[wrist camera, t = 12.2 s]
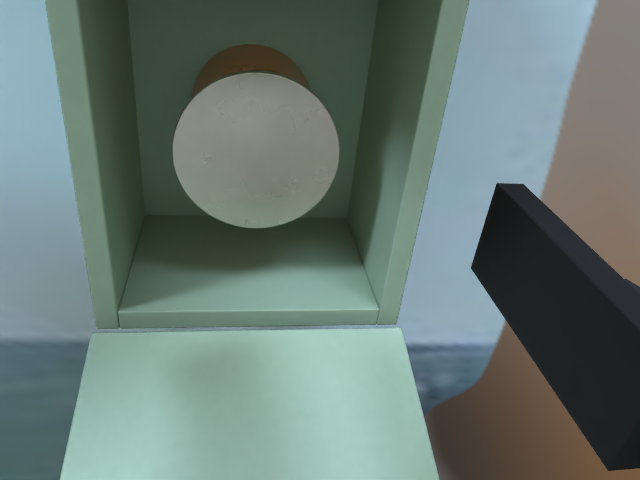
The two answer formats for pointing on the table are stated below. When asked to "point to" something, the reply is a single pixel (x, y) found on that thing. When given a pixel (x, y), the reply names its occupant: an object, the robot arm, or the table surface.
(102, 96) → the pale green cubby
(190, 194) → the coffee pod
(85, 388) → the lid
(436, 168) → the table surface
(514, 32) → the table surface
